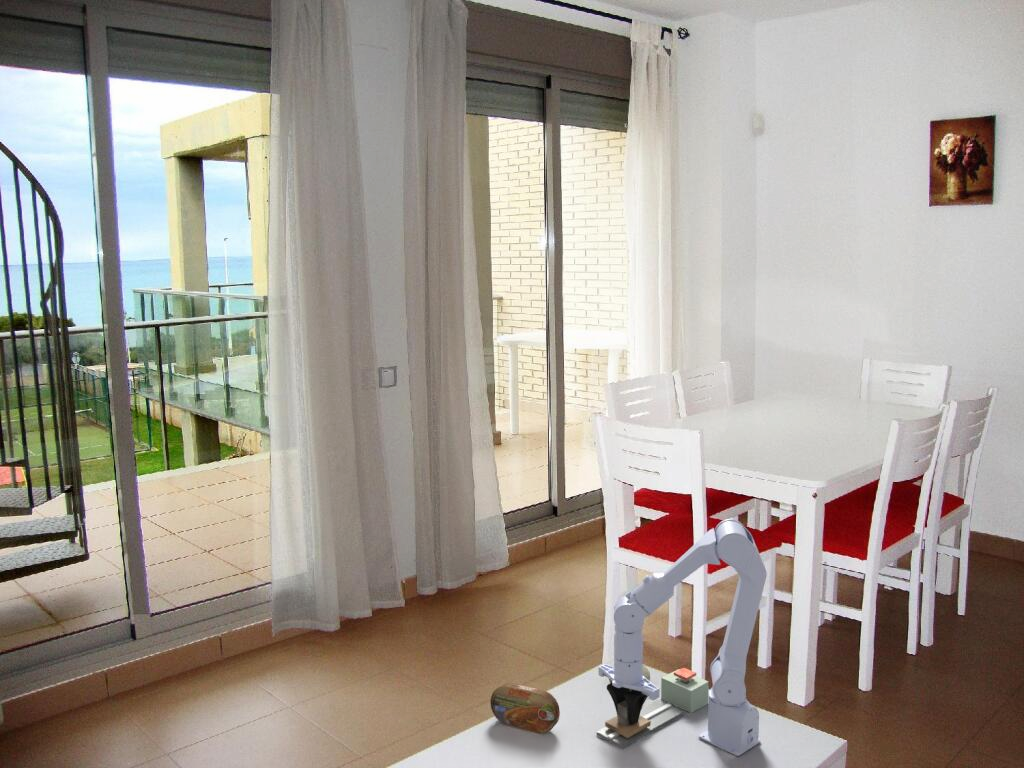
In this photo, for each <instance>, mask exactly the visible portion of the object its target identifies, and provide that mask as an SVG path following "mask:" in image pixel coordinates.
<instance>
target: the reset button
mask: <svg viewBox="0 0 1024 768" xmlns="http://www.w3.org/2000/svg"><path fill="white" fill-rule="evenodd" d="M677 670H678V669H677ZM675 671H676V670H675ZM673 672H674V671H673ZM674 675H675V676H677V677H678V681H680V682H682V683H684V684H688V683H690V682H692V677H694V676H697V672H695V671H693V670H691V669H688V668H686V667H682V668H680V670H678V671H676V672H674Z"/></svg>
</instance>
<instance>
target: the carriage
mask: <svg viewBox="0 0 1024 768" xmlns="http://www.w3.org/2000/svg"><path fill="white" fill-rule="evenodd" d="M649 726H651V721H650V720H648V719H646V718H644V717H642V716H639V720H638V722H637V723H635V724H633V725H631V724H629V720H628V706H627V702H626V700H624V701H622V702H620V703H618V716H617V715H615V716H614V717H611V719H608V720H606V721H604V727H607V728H609V729H611V730H613V731H615V732H617V733H619V734H621V735H623V736H624V737H626V738H629V737H631V736H632V735H634V734H636V733H638V732H640V731H642V730H643V729H645V728H647V727H649Z"/></svg>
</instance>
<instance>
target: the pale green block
mask: <svg viewBox="0 0 1024 768" xmlns="http://www.w3.org/2000/svg"><path fill="white" fill-rule="evenodd" d="M680 669H681V668H680ZM680 669H679V668H678V669H676V670H674V671H672V672H670V673H668V674H666V675H664V676H662V677H661V681H660V682H661V683H660V685H661V686H660V687H661V688H660V689H661V690H660V692H661V693H660V698H661V700H662V701H664V702H667V703H669V704H671V705H672V704H673V705H672V706H675V707H677V708H679V709H681V710H682V711H686V712H688V713H690V714H692V713H694V712H695V711H697V710H699V709H701V708H702V707H704V706H706V705H708V704H709V686H710V685H709V684H710V683H709V681H708V680H706V679H703V678H701V677H699V676H697V675H696V676H694V677H692V682H690V683H688V684H684V683H682V682H680V681H678V677H677V676H675V675H674V672H676V671H678V670H680Z"/></svg>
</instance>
